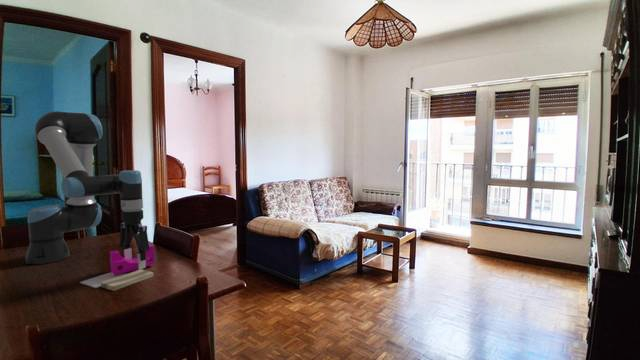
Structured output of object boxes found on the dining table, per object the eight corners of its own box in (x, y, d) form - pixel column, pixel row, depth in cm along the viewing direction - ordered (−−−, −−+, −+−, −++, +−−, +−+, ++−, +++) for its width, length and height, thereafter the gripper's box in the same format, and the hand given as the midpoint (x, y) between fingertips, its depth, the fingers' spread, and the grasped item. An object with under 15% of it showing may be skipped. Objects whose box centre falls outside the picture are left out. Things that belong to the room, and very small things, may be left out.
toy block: (114, 274, 127) (112, 255, 126) (110, 270, 132) (109, 251, 131) (156, 265, 137) (155, 247, 136) (152, 261, 142) (151, 244, 141)
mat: (79, 282, 122) (79, 282, 122) (115, 271, 134) (115, 270, 134) (95, 288, 118) (95, 287, 117) (131, 275, 129) (131, 274, 129)
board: (100, 286, 119) (100, 282, 118) (140, 272, 132) (140, 269, 132) (113, 290, 115) (113, 286, 115) (153, 276, 128) (153, 272, 128)
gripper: (106, 209, 134) (110, 265, 136) (140, 213, 124) (143, 274, 126) (125, 206, 140) (128, 259, 143) (158, 210, 131) (160, 267, 133)
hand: (135, 266), depth 134 cm, fingers closed on toy block, 8 cm apart
